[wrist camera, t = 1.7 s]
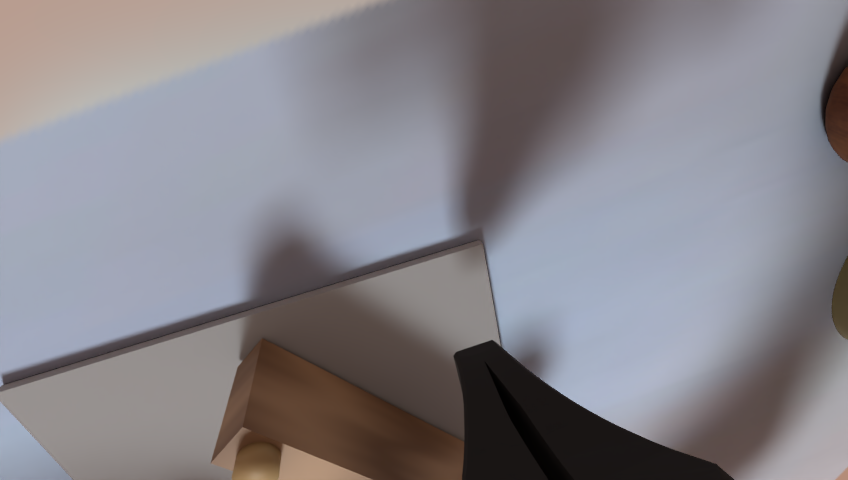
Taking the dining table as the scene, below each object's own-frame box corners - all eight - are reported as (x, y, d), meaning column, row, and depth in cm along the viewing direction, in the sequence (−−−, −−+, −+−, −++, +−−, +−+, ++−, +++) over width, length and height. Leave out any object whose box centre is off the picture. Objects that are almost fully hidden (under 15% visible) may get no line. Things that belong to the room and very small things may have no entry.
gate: (478, 449, 20) (520, 552, 15) (457, 469, 20) (492, 577, 16) (262, 338, 15) (238, 445, 11) (237, 367, 15) (205, 483, 11)
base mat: (524, 494, 23) (527, 501, 22) (209, 614, 21) (207, 624, 20) (478, 239, 16) (482, 243, 15) (2, 385, 14) (-7, 394, 14)
